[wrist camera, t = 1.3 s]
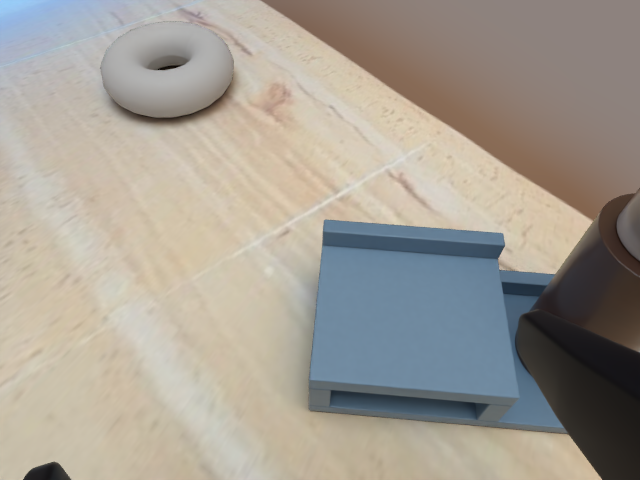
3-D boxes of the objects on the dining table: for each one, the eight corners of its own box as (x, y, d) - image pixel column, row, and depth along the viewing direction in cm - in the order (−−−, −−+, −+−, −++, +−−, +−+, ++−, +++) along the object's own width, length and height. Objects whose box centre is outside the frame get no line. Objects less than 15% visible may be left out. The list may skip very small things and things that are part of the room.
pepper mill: (624, 360, 26) (825, 195, 16) (568, 412, 24) (754, 265, 14) (551, 297, 28) (687, 117, 18) (496, 341, 26) (612, 170, 16)
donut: (81, 105, 39) (191, 142, 36) (63, 66, 36) (181, 103, 33) (159, 40, 44) (259, 68, 42) (148, 2, 42) (254, 29, 39)
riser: (660, 442, 24) (733, 405, 20) (308, 410, 25) (309, 368, 21) (615, 298, 29) (666, 245, 25) (321, 275, 30) (324, 218, 25)
